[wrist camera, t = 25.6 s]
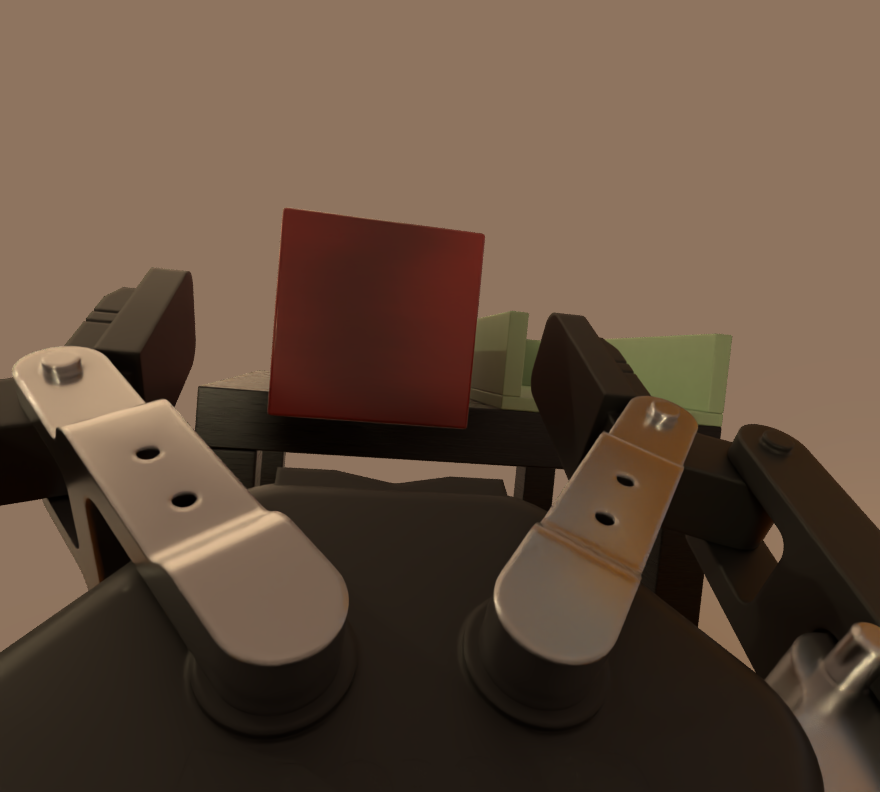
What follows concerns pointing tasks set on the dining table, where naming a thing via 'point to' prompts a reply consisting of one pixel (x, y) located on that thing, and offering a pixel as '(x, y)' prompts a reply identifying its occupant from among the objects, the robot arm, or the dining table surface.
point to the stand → (483, 442)
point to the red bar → (374, 320)
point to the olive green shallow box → (651, 358)
